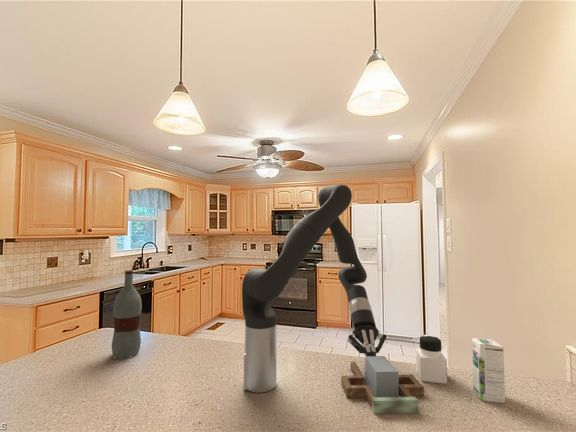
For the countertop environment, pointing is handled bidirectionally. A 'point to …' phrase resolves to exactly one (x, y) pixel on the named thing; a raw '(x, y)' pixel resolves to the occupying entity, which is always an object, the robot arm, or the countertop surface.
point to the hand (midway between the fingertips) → (373, 366)
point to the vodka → (127, 320)
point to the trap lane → (402, 404)
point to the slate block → (381, 376)
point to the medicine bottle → (431, 360)
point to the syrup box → (488, 370)
